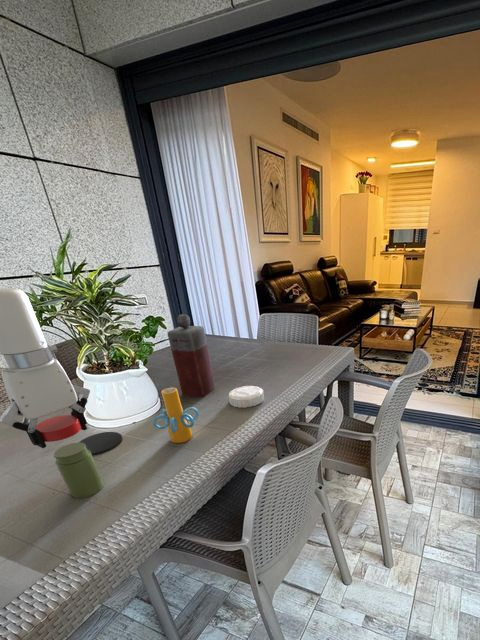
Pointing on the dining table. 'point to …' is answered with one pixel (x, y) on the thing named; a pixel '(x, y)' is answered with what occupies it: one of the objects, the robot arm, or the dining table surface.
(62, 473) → the jar
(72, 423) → the jar lid
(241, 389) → the mooncake
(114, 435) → the coaster
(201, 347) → the red square decanter
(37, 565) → the dining table surface
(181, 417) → the cylinder
